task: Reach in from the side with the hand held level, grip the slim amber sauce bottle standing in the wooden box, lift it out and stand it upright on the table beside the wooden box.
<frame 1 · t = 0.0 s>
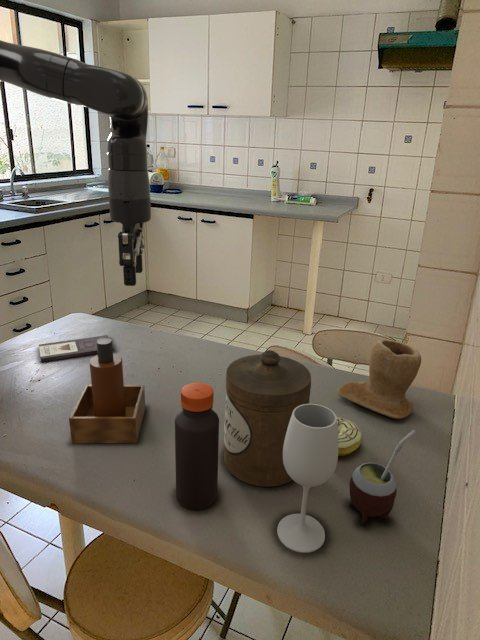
hand: (133, 278, 92), 28 cm above the table, tool pointing down, fingers open, 8 cm apart
sauce bottle: (110, 421, 94), point 1 cm above the table, touching wooden box
mate gourd: (370, 512, 75), on the table
wooden box: (111, 424, 94), on the table
wooden container: (263, 460, 86), on the table
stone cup: (377, 404, 105), on the table
decorated donut: (331, 443, 91), on the table
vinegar: (196, 496, 77), on the table
chocolate bar: (76, 350, 124), on the table
wineglass: (300, 533, 70), on the table
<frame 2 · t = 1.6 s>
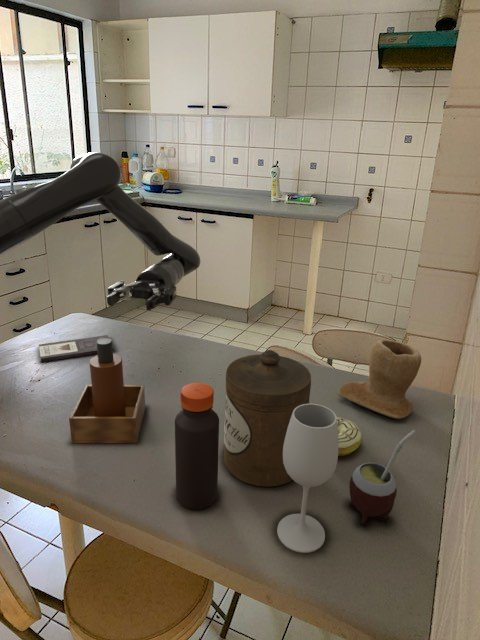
hand: (128, 303, 95), 22 cm above the table, tool horizontal, fingers open, 8 cm apart
nothing on the table moved.
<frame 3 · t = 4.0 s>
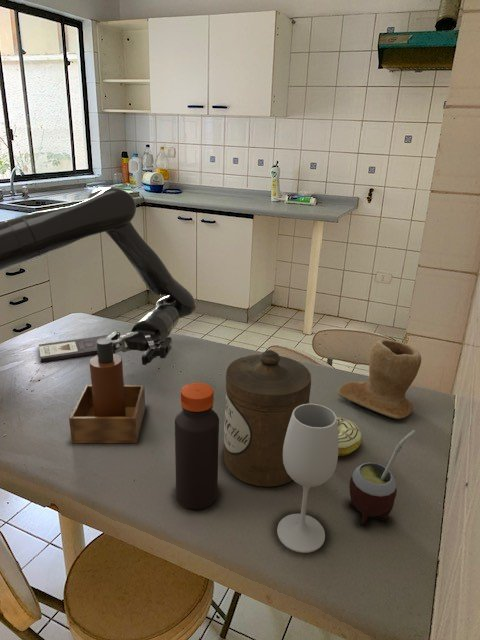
hand: (124, 358, 97), 11 cm above the table, tool horizontal, fingers open, 8 cm apart
nothing on the table moved.
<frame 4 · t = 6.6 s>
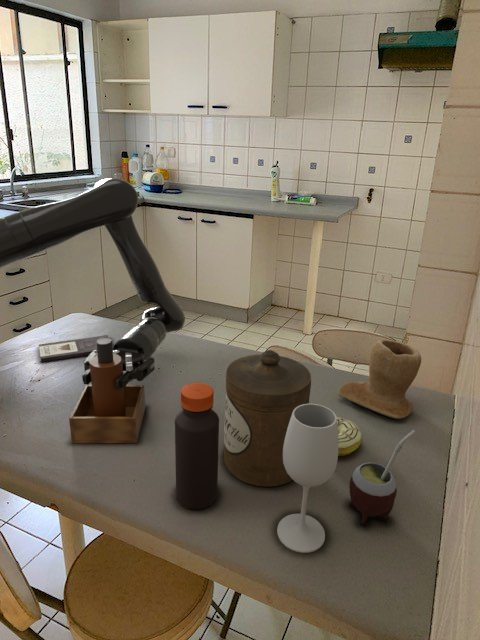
hand: (101, 382, 87), 11 cm above the table, tool horizontal, fingers closed on sauce bottle, 6 cm apart
sauce bottle: (110, 421, 94), point 1 cm above the table, touching wooden box, gripper
everything else where it was.
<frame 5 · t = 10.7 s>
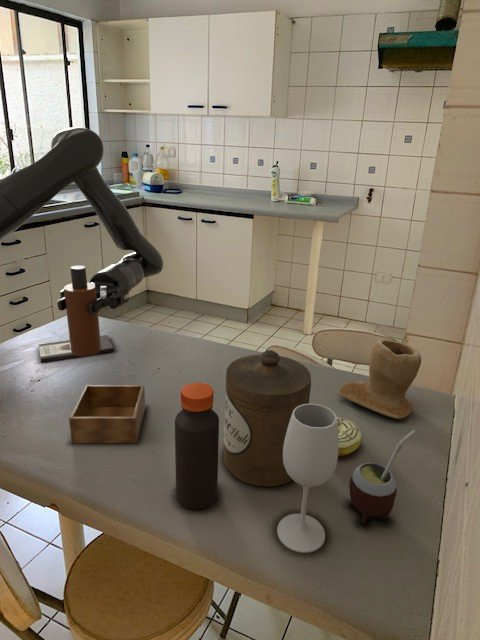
hand: (75, 307, 91), 23 cm above the table, tool horizontal, fingers closed on sauce bottle, 6 cm apart
sauce bottle: (86, 349, 97), point 12 cm above the table, touching gripper
everything else where it was.
when the fingers open (10 cm above the table, at t = 14.9 s): sauce bottle stays where it is, on the table.
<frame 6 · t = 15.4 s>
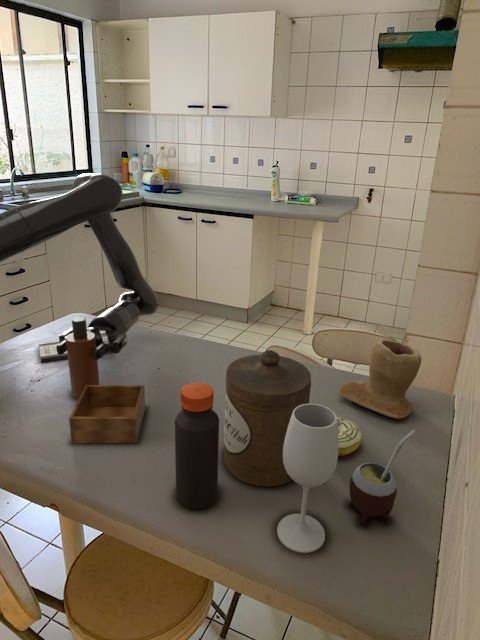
hand: (76, 353, 99), 11 cm above the table, tool horizontal, fingers open, 8 cm apart
sauce bottle: (86, 392, 104), on the table
everything else where it was.
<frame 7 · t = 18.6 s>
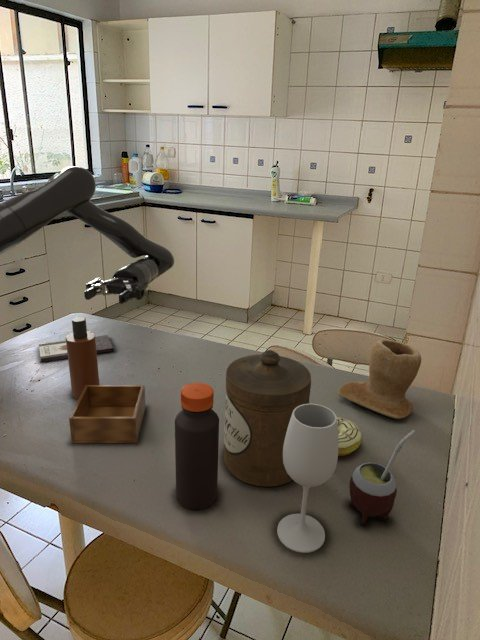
hand: (103, 297, 107), 19 cm above the table, tool horizontal, fingers open, 8 cm apart
nothing on the table moved.
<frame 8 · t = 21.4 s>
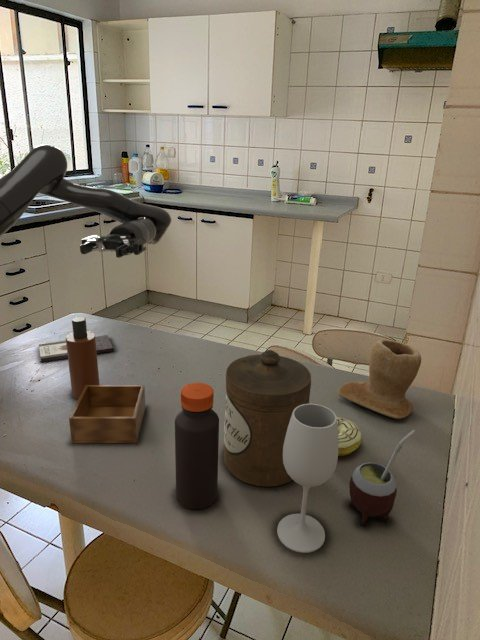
hand: (99, 251, 103), 30 cm above the table, tool horizontal, fingers open, 8 cm apart
nothing on the table moved.
at the end: sauce bottle inside the target area (0.1 cm from its centre), on the table; sauce bottle tilted 0°; the gripper is holding nothing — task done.
